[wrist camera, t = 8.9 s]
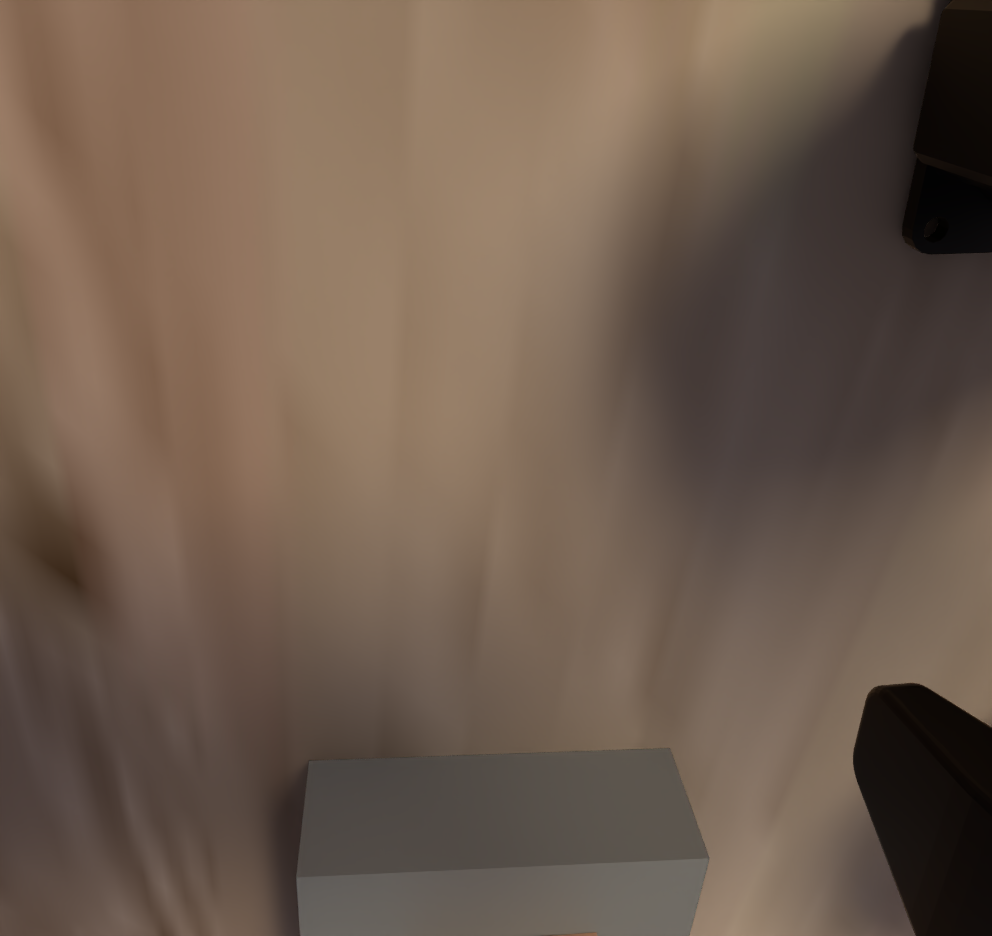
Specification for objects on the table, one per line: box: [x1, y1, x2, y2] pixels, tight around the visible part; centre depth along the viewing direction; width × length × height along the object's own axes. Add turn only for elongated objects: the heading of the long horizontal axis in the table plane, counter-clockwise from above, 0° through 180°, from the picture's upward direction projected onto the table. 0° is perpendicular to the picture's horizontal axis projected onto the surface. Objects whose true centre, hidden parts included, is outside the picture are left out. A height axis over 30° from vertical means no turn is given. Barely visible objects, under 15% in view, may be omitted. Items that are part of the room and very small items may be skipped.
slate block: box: [296, 748, 709, 936], centre depth 25 cm, size 10×10×4 cm
